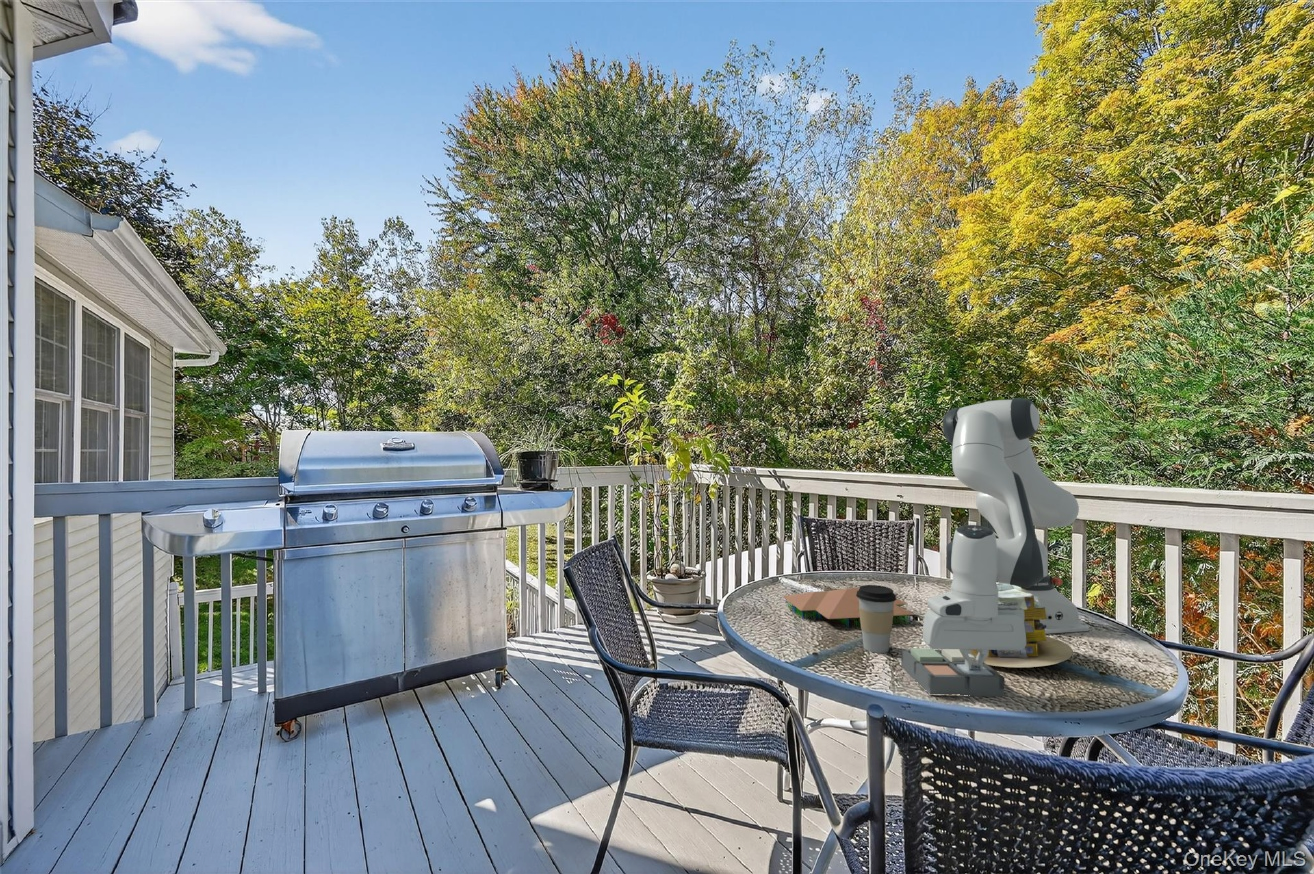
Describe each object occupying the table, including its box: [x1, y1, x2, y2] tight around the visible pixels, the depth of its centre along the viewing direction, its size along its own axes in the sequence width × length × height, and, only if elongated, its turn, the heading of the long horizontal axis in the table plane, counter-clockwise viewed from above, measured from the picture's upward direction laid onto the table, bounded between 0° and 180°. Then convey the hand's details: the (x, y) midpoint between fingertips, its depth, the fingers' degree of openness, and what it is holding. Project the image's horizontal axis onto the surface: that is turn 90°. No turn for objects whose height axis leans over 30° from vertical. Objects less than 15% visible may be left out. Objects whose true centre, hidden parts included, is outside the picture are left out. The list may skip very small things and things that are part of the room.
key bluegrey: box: [957, 664, 993, 675], centre depth 124 cm, size 5×5×2 cm
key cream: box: [941, 649, 975, 662], centre depth 131 cm, size 5×5×2 cm
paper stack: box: [971, 583, 1074, 668], centre depth 141 cm, size 25×25×17 cm
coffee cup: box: [856, 584, 897, 654], centre depth 146 cm, size 9×9×15 cm
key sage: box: [910, 647, 943, 662], centre depth 131 cm, size 5×5×2 cm
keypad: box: [900, 648, 1005, 697], centre depth 127 cm, size 15×15×4 cm
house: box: [782, 587, 915, 627], centre depth 174 cm, size 23×33×8 cm
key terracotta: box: [924, 665, 958, 675], centre depth 124 cm, size 5×5×2 cm
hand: (973, 668), depth 124 cm, fingers closed
